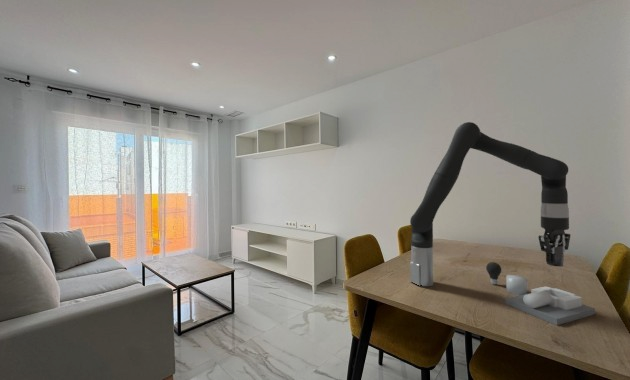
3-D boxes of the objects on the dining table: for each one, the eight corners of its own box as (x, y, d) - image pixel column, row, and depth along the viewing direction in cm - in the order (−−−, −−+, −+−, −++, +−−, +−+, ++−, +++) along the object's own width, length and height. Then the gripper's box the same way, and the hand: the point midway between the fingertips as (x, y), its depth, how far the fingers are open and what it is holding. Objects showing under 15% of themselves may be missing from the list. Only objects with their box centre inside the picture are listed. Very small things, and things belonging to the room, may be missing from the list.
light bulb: (497, 287, 112) (497, 265, 111) (483, 283, 117) (483, 261, 116) (504, 285, 114) (504, 262, 114) (490, 281, 119) (490, 259, 119)
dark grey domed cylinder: (558, 267, 90) (558, 247, 90) (543, 263, 95) (543, 244, 95) (566, 265, 92) (566, 246, 92) (551, 262, 96) (551, 243, 96)
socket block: (556, 325, 82) (556, 305, 81) (505, 303, 97) (505, 287, 97) (595, 314, 88) (594, 295, 88) (541, 295, 103) (541, 279, 103)
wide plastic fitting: (519, 296, 103) (519, 281, 103) (502, 290, 109) (502, 276, 109) (531, 293, 105) (531, 279, 105) (513, 287, 111) (513, 274, 111)
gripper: (553, 218, 87) (554, 268, 87) (580, 215, 92) (580, 263, 92) (529, 215, 94) (529, 262, 95) (554, 213, 99) (555, 257, 99)
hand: (554, 262), depth 93 cm, fingers closed on dark grey domed cylinder, 4 cm apart
